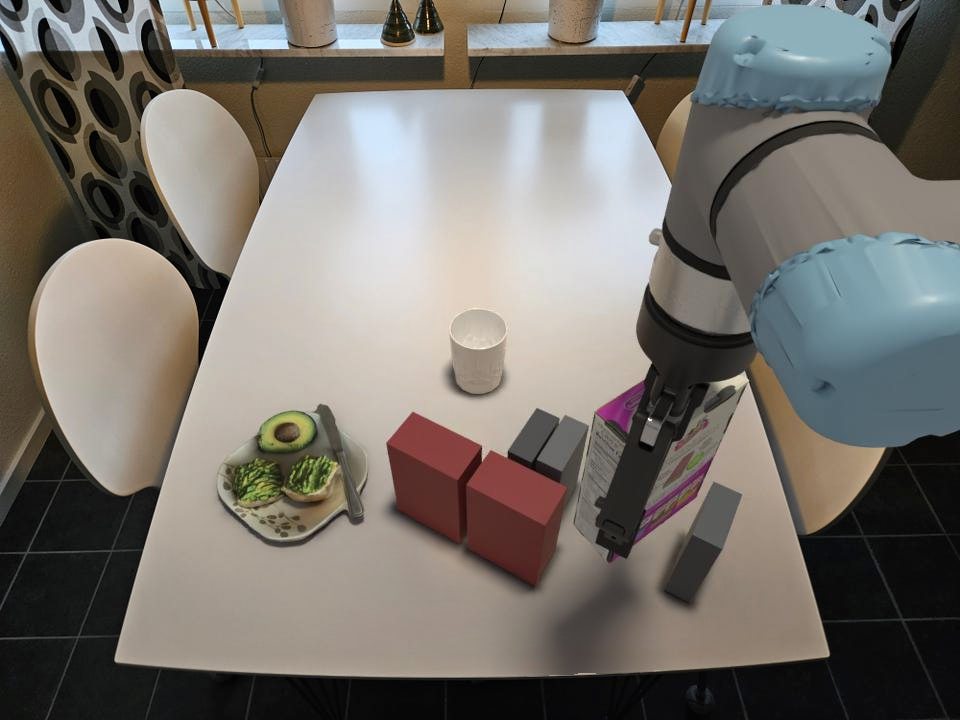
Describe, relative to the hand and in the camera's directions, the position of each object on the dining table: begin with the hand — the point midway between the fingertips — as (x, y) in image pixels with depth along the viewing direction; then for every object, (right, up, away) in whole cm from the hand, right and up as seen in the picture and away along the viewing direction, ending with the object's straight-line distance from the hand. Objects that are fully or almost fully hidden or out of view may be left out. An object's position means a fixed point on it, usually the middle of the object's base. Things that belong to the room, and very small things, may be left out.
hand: (641, 488), depth 55 cm
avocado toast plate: (-37, -4, +28) cm, 47 cm away
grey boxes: (+1, -9, +23) cm, 25 cm away
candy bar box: (0, -3, +3) cm, 4 cm away
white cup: (-14, +8, +39) cm, 42 cm away
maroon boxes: (-14, -9, +23) cm, 28 cm away
